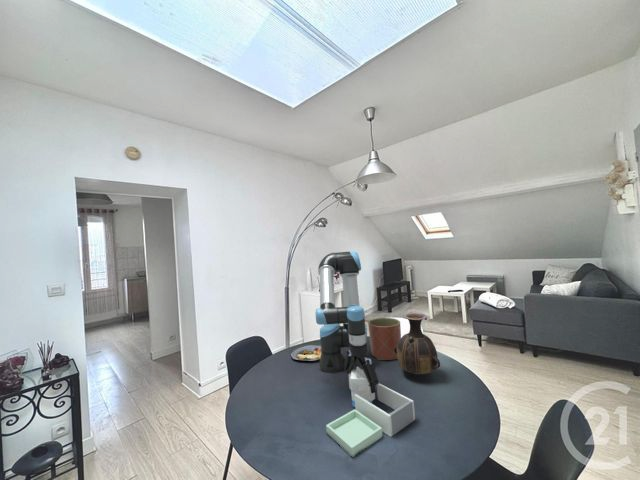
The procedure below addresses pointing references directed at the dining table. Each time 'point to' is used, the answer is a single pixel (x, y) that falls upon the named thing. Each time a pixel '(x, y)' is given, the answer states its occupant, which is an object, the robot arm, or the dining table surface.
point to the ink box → (359, 385)
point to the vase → (416, 348)
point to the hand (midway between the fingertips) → (361, 393)
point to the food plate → (307, 353)
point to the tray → (354, 432)
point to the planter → (384, 337)
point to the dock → (386, 421)
